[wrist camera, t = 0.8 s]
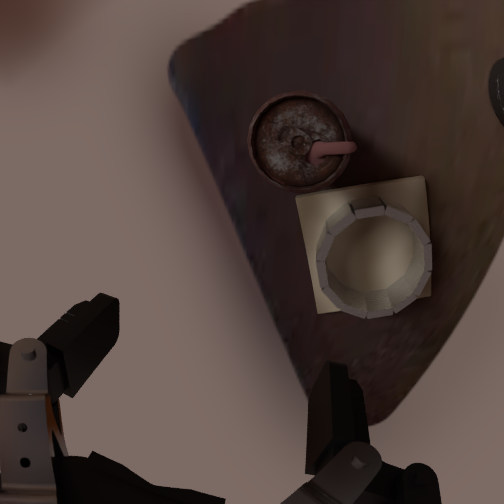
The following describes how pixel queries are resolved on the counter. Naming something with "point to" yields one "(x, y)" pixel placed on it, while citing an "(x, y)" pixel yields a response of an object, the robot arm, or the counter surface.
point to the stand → (364, 236)
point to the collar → (382, 299)
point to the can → (300, 141)
